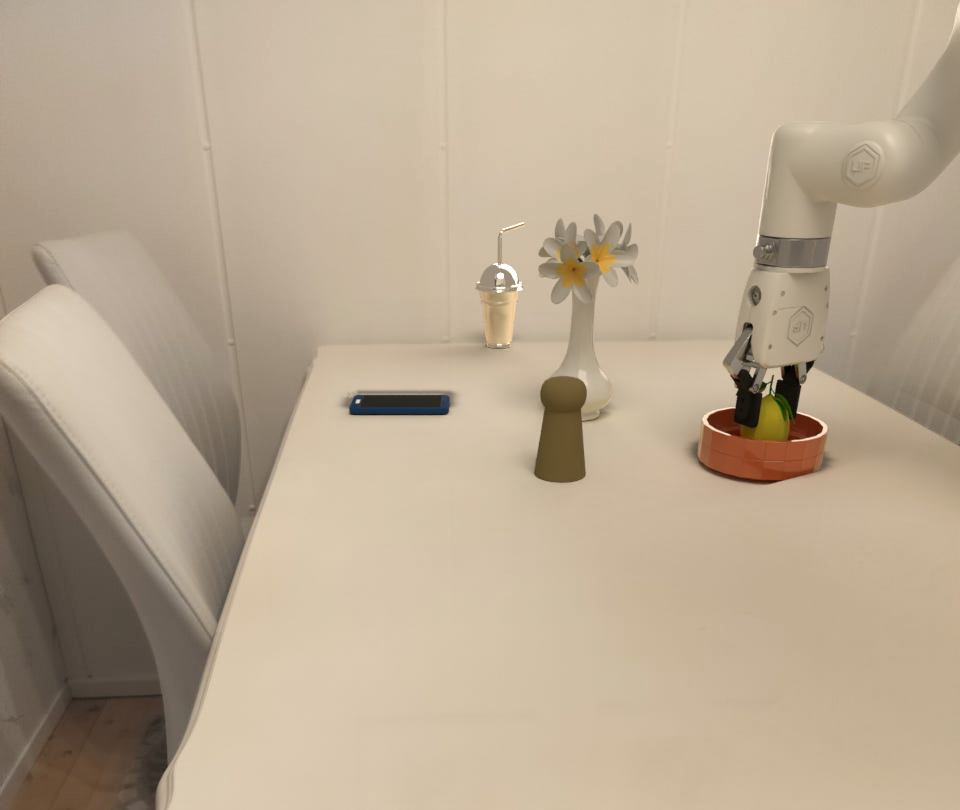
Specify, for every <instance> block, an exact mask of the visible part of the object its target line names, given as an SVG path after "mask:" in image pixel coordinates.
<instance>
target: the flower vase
mask: <svg viewBox="0 0 960 810" xmlns="http://www.w3.org/2000/svg"><path fill="white" fill-rule="evenodd" d="M555 223H556V224H555V227H554V237H546V238H545V239H544V241H543V242H542V246H541V247H540V249H539V250H538V253H537V254H538V256H539V257H540V258H549V259H547V260H546V261H545V262H542V263H541V264H539V266H538V277H539V278H542V279H543V278H547V279H551V280H557V281H556V282H555V284H554V286H553V287H552V289H551V293H550V301H551V303H552V304H554V305H559V304H561V303H563V302H564V301H565V300H566V299H567V297H568V296H569V295H570V293H571V302H572V303H571V305H572V306H571V317H570V327H569V328H570V331H569V338H568V344H567V349H566V352H565V355H564V356H563V357H564V358H563V359H562V361H561V364H560V365H559V366H558V368H556V369H555V370H554V371H553V372H552V373H551V375H550V376H549V378H551V377H557V376H570V377H575V378H578V379H580V380H582V381H583V382H584V384H585V386H586V389H587V397H586V401H585V404H584V405H583V407H582V408H581V416H582V422H585V421H592V420H596V419H598V418H599V416H600V415H601V411H600V410H601V409H603V408H605V407H606V406H607V405H608V404H609V403H610V401H611V399H612V397H613V395H614V388H613V384H612V382H611V380H610V377H609V376H608V375H607V373H606V372H605V371H604V370H603V369H602V367H601V366H600V364H599V361H598V358H597V354H596V350H595V332H594V331H595V308H596V306H595V305H596V299H597V298H596V296H597V293H598V287H599V284H600V280H601V277H603V279H604V280H605V282H606V284H607V285H609V287H611V288H616V287H617V286H618V284H619V276H618V272H617V270H616V269H615V268H620V269H621V270H622V271H623V272H624V275H625V276H626V277H627V280H628V281H629V282H630V284H631V283H633V282H634V284H635V285H638V286H639V277H638V274H637V271H636V268H635V267H634V264H635V262H636V259H637V258H638V255H639V246H638V243H631V244H630V242H631V239H632V228H633V227H632V222H629V223H628V226H627V229H626V232H625V234H624V236H623V239H622V242H620V240H621V237H622V235H623V233H624V225H623V223H622V222H621V221H620V220H615V221H613V222H612V223H611V224H610V225H609V226H608V227H607V229H606V226H605V223H604V220H603V219H602V217H601V216H600V215H599V214H597V213H593V224H594V229H595V231H594V230H593V229H591V228H585V229H584V231H583V235H582V234H578V226H577V223H576V222H575V220H571V222H570V223H569V224H568V226H567V227H566V226H565V222H564V219H563V218H561V217H560V218H559V219H557V221H556V222H555ZM619 242H620V243H619ZM582 256H583V257H584V258H581V257H582ZM549 378H548V379H549Z"/></svg>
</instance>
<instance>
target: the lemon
mask: <svg viewBox="0 0 960 810" xmlns="http://www.w3.org/2000/svg"><path fill="white" fill-rule="evenodd" d="M774 379H775V374H772V375H771V379H770V380H769V382H765V381H764V380H763V381H762V384H761V386H760V389H759V391H758V392H761V393H763V392H764V391H765V390H766V388H767V386H768V385H769V392H768V394H765V395H764V396H762V402H761V409H760V415H759V421H758V425H757V427H755V428H750V427H747V426H744V425H741V427H740V436H741V437H744V438H750V439H759V440H772V441H787V439H788V435H789V428H790V423H789V416H788V413H789V415H790V417H791V419H792V421H793V423H794V420H793V415H792V412H791V409H790V406H789V404H788V402H787V400H786V399H785V398H784V397H783V396H781V395H780V394H777V393H775V390H773V384H774ZM737 393H738V390H737V391H736V393H735V396H736V397H737ZM772 393H773V394H772ZM774 394H775V395H776V397H777V398H778V399H779V400H778V399H776V398H774ZM787 411H788V412H787ZM794 425H795V423H794Z"/></svg>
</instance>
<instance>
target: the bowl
mask: <svg viewBox="0 0 960 810" xmlns="http://www.w3.org/2000/svg"><path fill="white" fill-rule="evenodd" d="M735 407H736V406H730V407H722V408H718V409H714V410H710V411H709V412H707V413H705V414H704V415H703V417H702V418H701V421H700V429H699V437H698V445H697V453H696V455H697V458H698V460H699V462H700V463H702V464H703V465H704V466H706V467H707V468H710V469H712V470H714V471H717V472H719V473H723V474H725V475H728V476H731V477H735V478H740V479H745V480H751V481H761V482H779V481H780V482H781V481H787V480H790V479H796V478H798V477H802V476H806V475H811V474H813V473H818V472H819V471H820V470H821V468H822V463H823V458H824V453H825V448H826V443H827V438H828V433H829V426H828V425H827V424H826V423H825V422H824V421H823V420H821V419H819V418H817V417H816V416H813V415H810V414H807V413H803V412H800V411H797V414H796V418H795V419H793V420H794V423H795V425H794V423H793V421H792V419H789V423H790V428H789V435H788V439H787V441H772V440H759V439H750V438H744V437H741V436H740V427H741V424H738V423H736V422H735V421H734V414H735Z"/></svg>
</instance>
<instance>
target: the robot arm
mask: <svg viewBox="0 0 960 810" xmlns="http://www.w3.org/2000/svg"><path fill="white" fill-rule="evenodd" d="M768 151H769V152H768V159H767V165H766V172H765V181H764V187H763V192H762V193H763V194H762V202H761V208H760V209H761V210H760V215H759V223H758V229H757V236H756V244H755V247H754V248H753V249H752V256H753V265H752V267H751V268H750V269H749V270H750V271H749V273H748V276H747V279H746V283H745V285H744V286H745V287H744V289H743V290H744V291H743V293H742V298H741V302H740V307H739V312H738V317H737V322H736V327H735V333H734V343H733V345H732V347H731V348H730V350H729V351H728V353H727V354H726V356H724V358H723V361H722V366H723V367H724V368H725V370H726V372H727V373H728V374H729V376H730V378H731V379H732V381H733V382H734V388H735V389H737V391H738V393H737V392H736V393H737V396H736V401H735V406H734V407H735V414H734V421H735V422H736V423H738V424H741V425H744V426H747V427H750V428H755V427H757V425H758V421H759V415H760V409H761V402H762V398H763V392H758V391H759V389H760V386H761V384H762V381H763V382H764V378H765V376H766V373H767V371H768V370H769V369H778V368H780V376H781V379H780V378H779V379H777V380H776V382H775V388H774V392H775V393H777V394H780V395H781V396H783V397H784V398H785V399H786V400H787V402H788V404H789V406H790V409H791V412H792V415H793V419H795V418H796V414H797V412H798V409H799V403H800V396H801V391H802V385H804V384H805V383H806V382H807V378H808V375H807V374H808V373H809V372H810V370H811V369H812V367H814V364H815V362H816V361H817V359H818V358H819V357H821V355H822V353H824V350H825V344H824V343H825V338H826V332H827V326H828V325H827V323H828V318H829V317H828V315H829V307H830V292H831V274H830V267H829V266H827V263H828V259H829V253H830V248H831V242H832V235H833V230H834V224H835V219H836V215H837V214H836V213H837V209H838V204H841V205H845V206H848V207H855V208H863V209H871V208H876V207H881V206H886V205H889V204H895V203H899V202H903V201H907V200H910V199H912V198H914V197H916V196H918V195H919V194H920V193H921V192H923V191H924V190H926V189H927V188H929V186H931V185H932V184H933V182H934V181H936V180H937V178H938V177H940V175H941V174H942V173H943V172H944V171H945V169H946V168H947V167H948V166H949V165H950V164H951V163H952V162H953V161H954V160H955V158H956V157H957V156H958V155H959V154H960V0H958V3H957V7H956V11H955V17H954V21H953V26H952V30H951V33H950V36H949V38H948V41H947V42H946V45H945V48H944V49H943V51H942V53H941V55H940V56H939V58H938V60H937V62H936V63H935V64H934V66H933V68H932V70H931V71H930V72H929V73H928V75H927V76H926V78H925V79H924V80H923V82H922V83H921V84H920V85H919V87H918V88H917V90H916V91H915V92H914V94H912V95H911V97H910V99H909V100H908V101H907V102H906V103H905V105H904V106H903V107H902V108H901V109H900V111H899V112H898V113H897V114H896V116H895V117H894V118H890V119H889V118H888V119H876V120H868V121H862V122H861V121H860V122H853V123H848V124H842V123H840V122H836V121H815V120H814V121H806V120H805V121H804V120H803V121H788V122H784V123H782V124H780V125H778V126H777V127H776V129H775V130H774V132H773V134H772V136H771V141H770V145H769V150H768ZM752 369H755V370H754V373H753V375H751V370H752ZM773 396H774V398H776V399H778V398H777V397H776V395H775V394H774V393H773ZM778 400H779V399H778ZM787 412H788V411H787ZM788 416H789V419H791V417H790V415H789V413H788Z"/></svg>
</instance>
